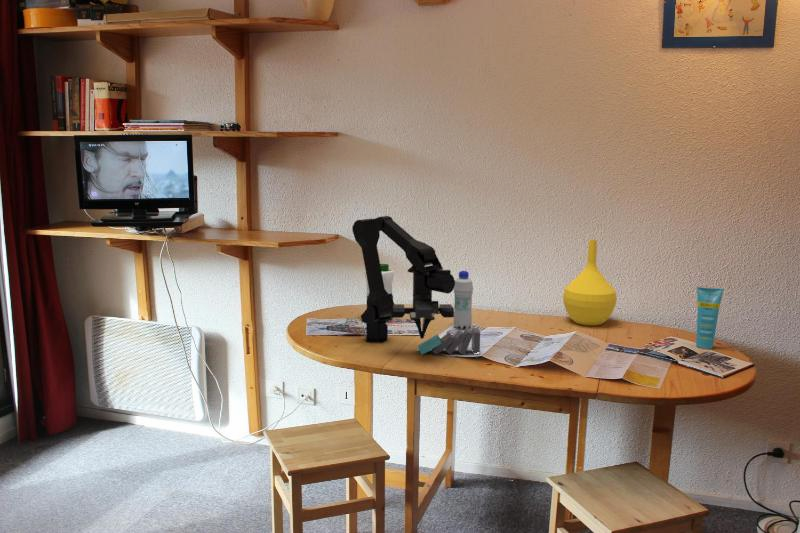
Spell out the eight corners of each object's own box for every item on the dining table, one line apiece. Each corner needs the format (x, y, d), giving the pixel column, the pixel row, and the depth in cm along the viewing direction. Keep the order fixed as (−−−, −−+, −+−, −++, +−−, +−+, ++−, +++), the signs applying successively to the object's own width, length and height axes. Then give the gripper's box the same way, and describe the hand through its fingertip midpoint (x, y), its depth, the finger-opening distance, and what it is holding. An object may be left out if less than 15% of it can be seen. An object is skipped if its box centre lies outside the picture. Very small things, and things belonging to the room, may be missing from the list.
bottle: (471, 330, 231) (472, 273, 227) (451, 329, 232) (452, 272, 229) (473, 325, 238) (474, 269, 234) (454, 324, 239) (455, 268, 235)
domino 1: (418, 350, 204) (438, 338, 204) (417, 345, 209) (437, 333, 209) (421, 355, 205) (441, 343, 204) (420, 350, 209) (440, 338, 209)
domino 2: (432, 350, 204) (450, 336, 204) (431, 345, 209) (449, 332, 209) (436, 355, 205) (454, 341, 204) (434, 350, 210) (452, 336, 209)
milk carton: (396, 319, 244) (396, 265, 241) (379, 324, 238) (379, 268, 234) (378, 315, 250) (378, 262, 246) (361, 320, 243) (361, 265, 240)
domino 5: (473, 354, 205) (474, 332, 204) (471, 349, 210) (472, 328, 209) (479, 354, 205) (480, 332, 204) (477, 349, 210) (477, 328, 209)
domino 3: (445, 351, 205) (460, 333, 204) (444, 346, 209) (458, 329, 209) (450, 354, 205) (465, 337, 204) (448, 349, 210) (463, 332, 209)
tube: (692, 347, 213) (698, 288, 209) (691, 343, 217) (696, 285, 214) (718, 350, 211) (724, 289, 207) (716, 345, 215) (722, 286, 212)
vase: (625, 324, 240) (631, 241, 235) (591, 332, 230) (596, 245, 224) (585, 313, 255) (589, 234, 249) (551, 320, 245) (555, 238, 239)
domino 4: (459, 352, 205) (467, 332, 204) (457, 347, 210) (465, 327, 209) (464, 354, 205) (473, 333, 204) (462, 349, 210) (471, 329, 209)
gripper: (392, 294, 195) (391, 346, 198) (456, 294, 196) (455, 346, 199) (391, 286, 206) (391, 335, 209) (452, 286, 207) (451, 335, 209)
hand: (421, 338), depth 206 cm, fingers closed
